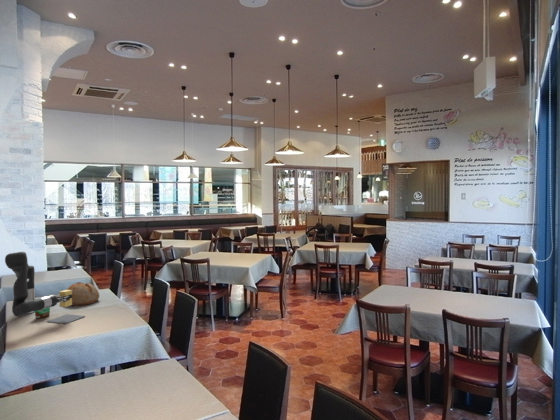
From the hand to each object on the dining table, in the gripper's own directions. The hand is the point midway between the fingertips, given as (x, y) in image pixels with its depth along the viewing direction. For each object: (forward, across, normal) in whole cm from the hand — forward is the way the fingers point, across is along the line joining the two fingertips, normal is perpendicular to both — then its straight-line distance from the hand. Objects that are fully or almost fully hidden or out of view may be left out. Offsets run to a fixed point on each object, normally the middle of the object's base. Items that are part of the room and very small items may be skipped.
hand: (68, 295), depth 258 cm
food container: (-2, +19, +15) cm, 25 cm away
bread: (+35, +26, +15) cm, 46 cm away
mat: (-2, 0, +15) cm, 16 cm away
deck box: (-3, 0, +6) cm, 7 cm away
